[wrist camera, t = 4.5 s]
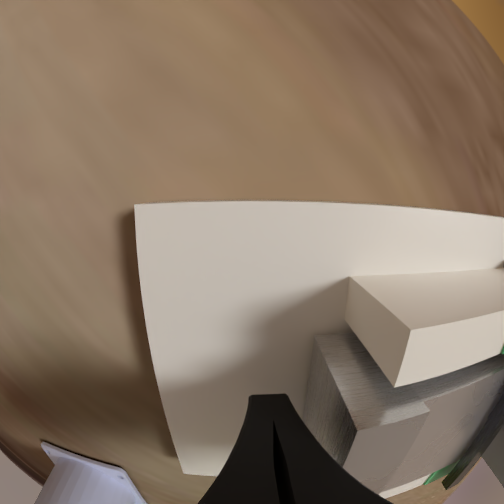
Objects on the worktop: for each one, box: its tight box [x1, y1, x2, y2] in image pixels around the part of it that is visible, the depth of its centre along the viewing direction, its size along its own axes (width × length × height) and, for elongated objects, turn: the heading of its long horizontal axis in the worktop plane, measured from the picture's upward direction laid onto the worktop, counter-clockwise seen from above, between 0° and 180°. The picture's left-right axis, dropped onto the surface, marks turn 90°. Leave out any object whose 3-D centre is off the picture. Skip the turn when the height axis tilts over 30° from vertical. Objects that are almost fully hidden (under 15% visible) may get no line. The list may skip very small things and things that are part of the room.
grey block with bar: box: [302, 332, 504, 495], centre depth 7 cm, size 8×9×5 cm
